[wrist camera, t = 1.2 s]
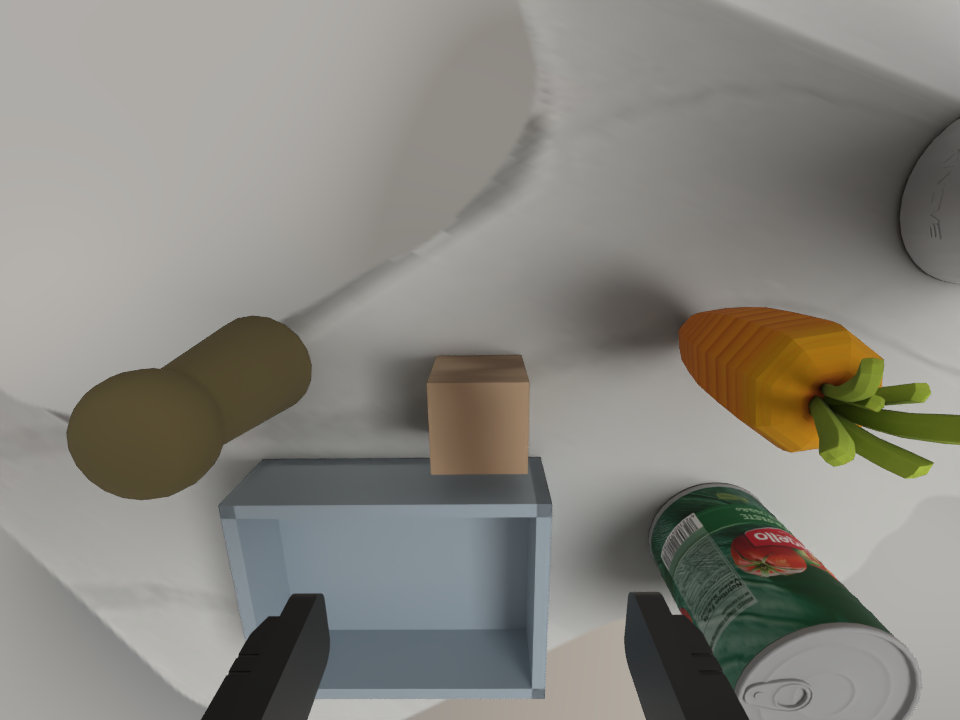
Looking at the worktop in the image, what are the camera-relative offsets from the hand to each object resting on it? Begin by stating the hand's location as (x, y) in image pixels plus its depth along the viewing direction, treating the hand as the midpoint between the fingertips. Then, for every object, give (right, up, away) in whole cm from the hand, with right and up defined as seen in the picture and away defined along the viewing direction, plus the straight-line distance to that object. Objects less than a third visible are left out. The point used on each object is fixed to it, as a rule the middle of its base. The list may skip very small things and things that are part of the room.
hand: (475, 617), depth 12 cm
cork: (-13, +6, +15) cm, 21 cm away
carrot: (+12, +9, +14) cm, 21 cm away
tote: (-5, -6, +19) cm, 20 cm away
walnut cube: (0, +5, +16) cm, 16 cm away
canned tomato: (+15, -5, +18) cm, 24 cm away
